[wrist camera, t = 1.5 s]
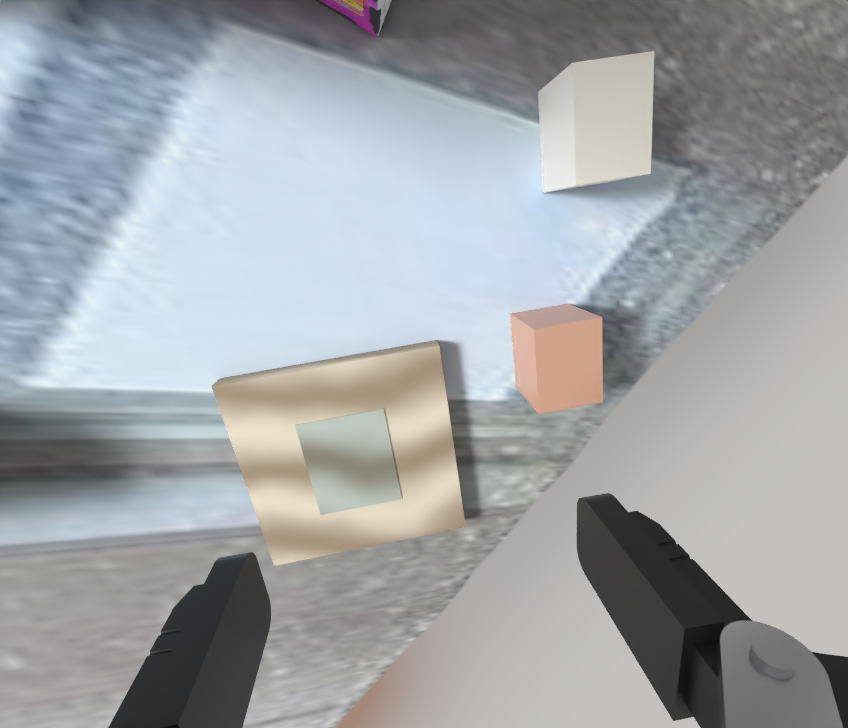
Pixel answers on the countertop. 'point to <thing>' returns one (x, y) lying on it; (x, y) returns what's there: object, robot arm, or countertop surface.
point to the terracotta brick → (558, 357)
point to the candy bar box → (362, 12)
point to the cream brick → (597, 122)
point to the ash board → (345, 450)
